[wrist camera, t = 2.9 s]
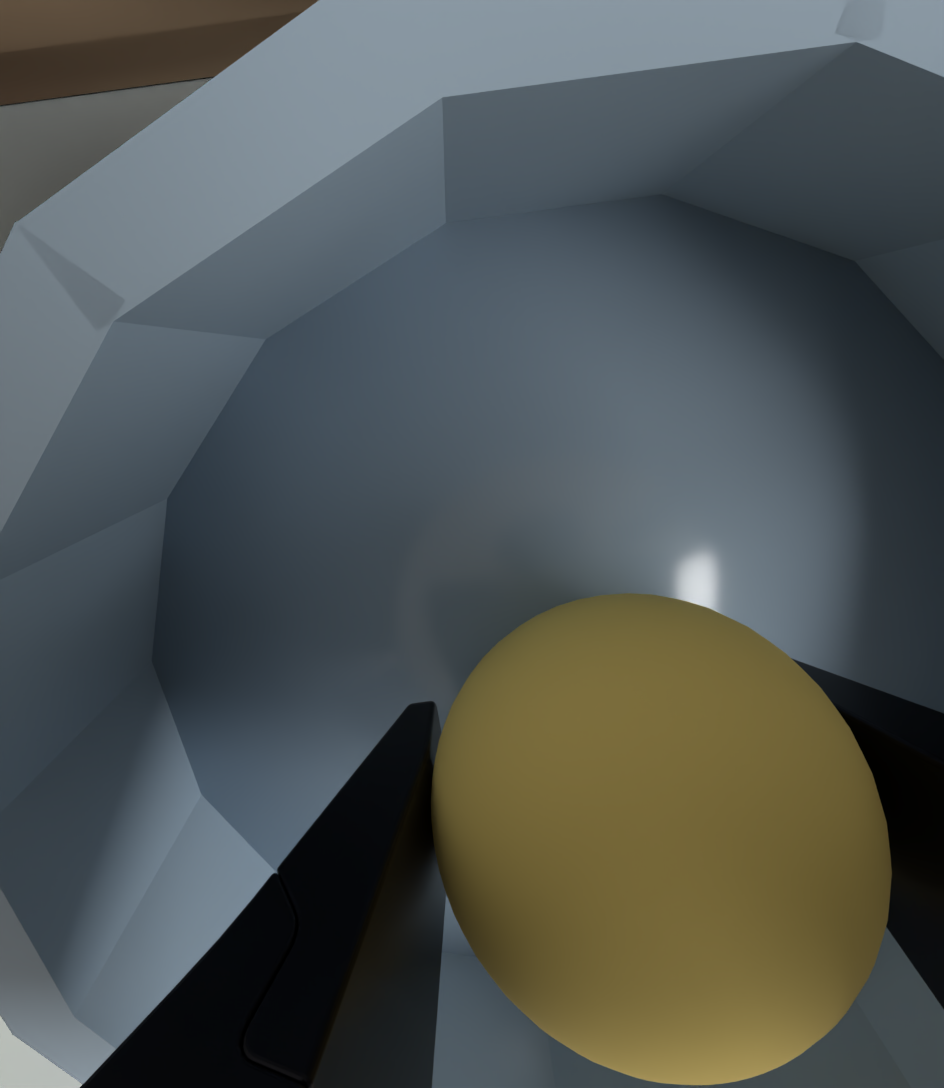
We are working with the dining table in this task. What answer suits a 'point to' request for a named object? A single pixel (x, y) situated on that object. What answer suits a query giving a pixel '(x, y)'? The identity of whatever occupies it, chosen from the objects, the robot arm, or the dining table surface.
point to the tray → (126, 42)
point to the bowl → (450, 446)
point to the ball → (661, 839)
